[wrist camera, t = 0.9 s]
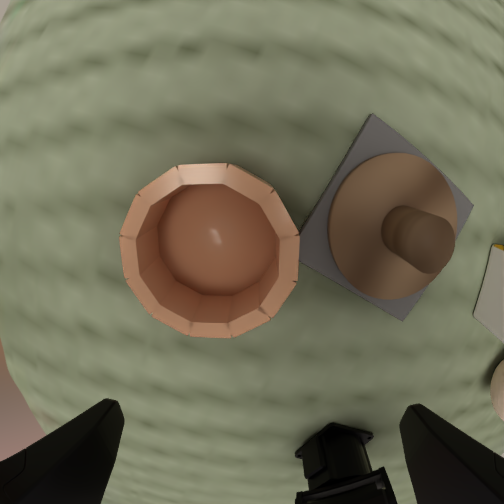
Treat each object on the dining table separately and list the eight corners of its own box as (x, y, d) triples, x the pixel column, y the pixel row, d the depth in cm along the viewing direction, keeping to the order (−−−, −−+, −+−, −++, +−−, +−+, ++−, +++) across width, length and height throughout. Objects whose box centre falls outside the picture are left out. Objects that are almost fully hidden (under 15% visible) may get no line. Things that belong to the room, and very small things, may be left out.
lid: (467, 206, 18) (510, 219, 13) (402, 314, 20) (432, 348, 15) (375, 123, 16) (412, 112, 11) (298, 252, 19) (312, 281, 14)
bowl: (316, 212, 19) (334, 225, 14) (244, 325, 21) (241, 361, 17) (188, 139, 17) (167, 131, 13) (129, 261, 20) (100, 285, 16)
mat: (469, 204, 18) (473, 205, 17) (399, 318, 21) (402, 321, 20) (369, 114, 17) (372, 113, 16) (286, 251, 19) (287, 254, 19)
